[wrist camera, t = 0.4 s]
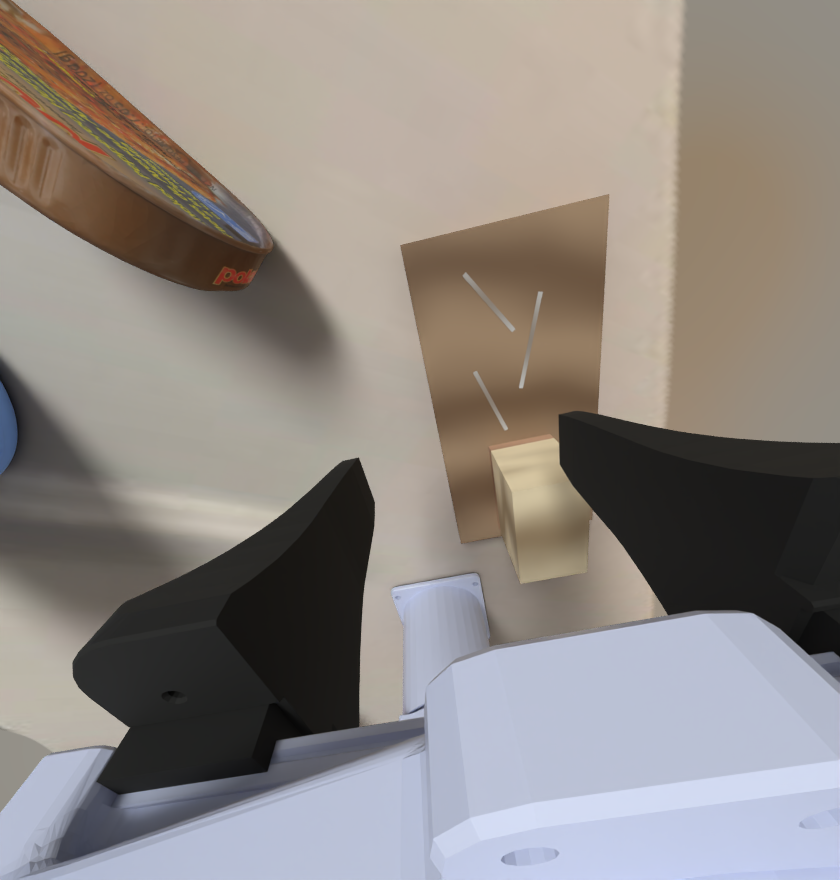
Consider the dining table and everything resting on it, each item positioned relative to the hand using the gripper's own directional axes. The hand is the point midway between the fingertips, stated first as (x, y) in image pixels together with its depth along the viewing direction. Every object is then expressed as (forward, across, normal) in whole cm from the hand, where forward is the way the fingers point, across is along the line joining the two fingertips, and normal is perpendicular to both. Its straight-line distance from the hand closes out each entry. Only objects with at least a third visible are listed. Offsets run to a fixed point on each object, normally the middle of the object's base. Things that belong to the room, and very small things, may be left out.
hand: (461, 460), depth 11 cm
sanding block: (+8, -4, +8) cm, 12 cm away
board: (+10, -4, +2) cm, 11 cm away
